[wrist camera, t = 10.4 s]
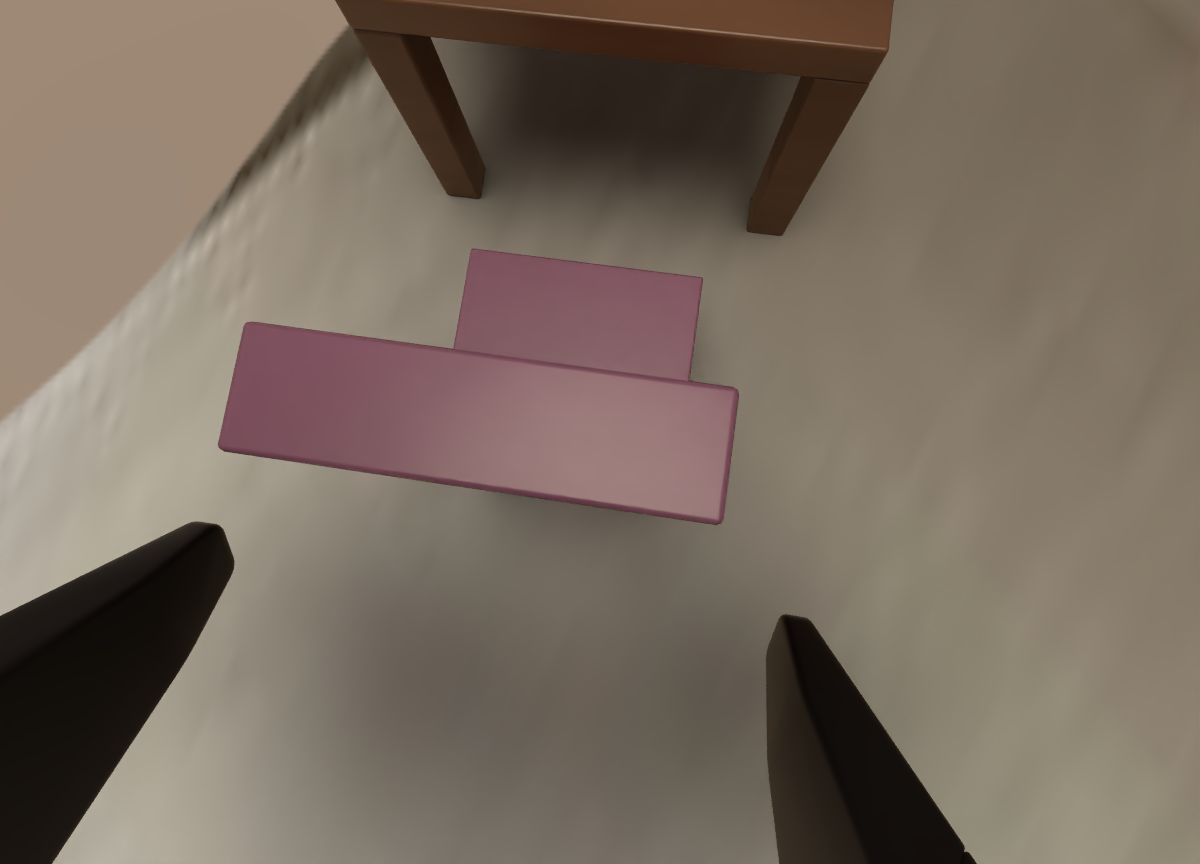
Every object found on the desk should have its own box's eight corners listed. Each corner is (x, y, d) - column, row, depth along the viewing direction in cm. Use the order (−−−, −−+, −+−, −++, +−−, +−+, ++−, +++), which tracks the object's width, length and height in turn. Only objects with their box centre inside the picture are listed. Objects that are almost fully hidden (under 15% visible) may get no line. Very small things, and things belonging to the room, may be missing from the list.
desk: (782, 236, 21) (889, 51, 12) (446, 195, 21) (329, -7, 13) (806, 32, 22) (923, -271, 13) (482, -1, 22) (394, -310, 14)
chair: (660, 512, 20) (723, 526, 7) (477, 485, 20) (213, 449, 7) (684, 331, 20) (785, 36, 8) (507, 308, 21) (314, -12, 8)
